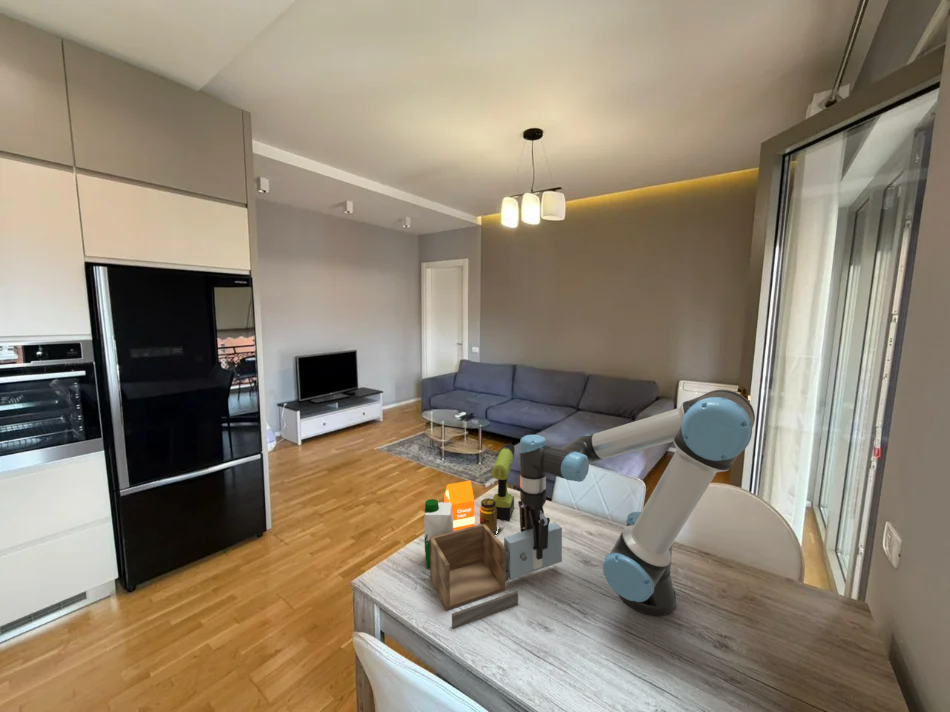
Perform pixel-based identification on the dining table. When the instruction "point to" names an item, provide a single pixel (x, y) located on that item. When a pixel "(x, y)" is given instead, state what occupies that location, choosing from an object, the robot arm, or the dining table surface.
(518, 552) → the door
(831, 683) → the dining table surface
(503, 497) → the cordless drill
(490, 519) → the condiment
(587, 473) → the robot arm
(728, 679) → the dining table surface
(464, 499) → the orange juice
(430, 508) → the milk carton
